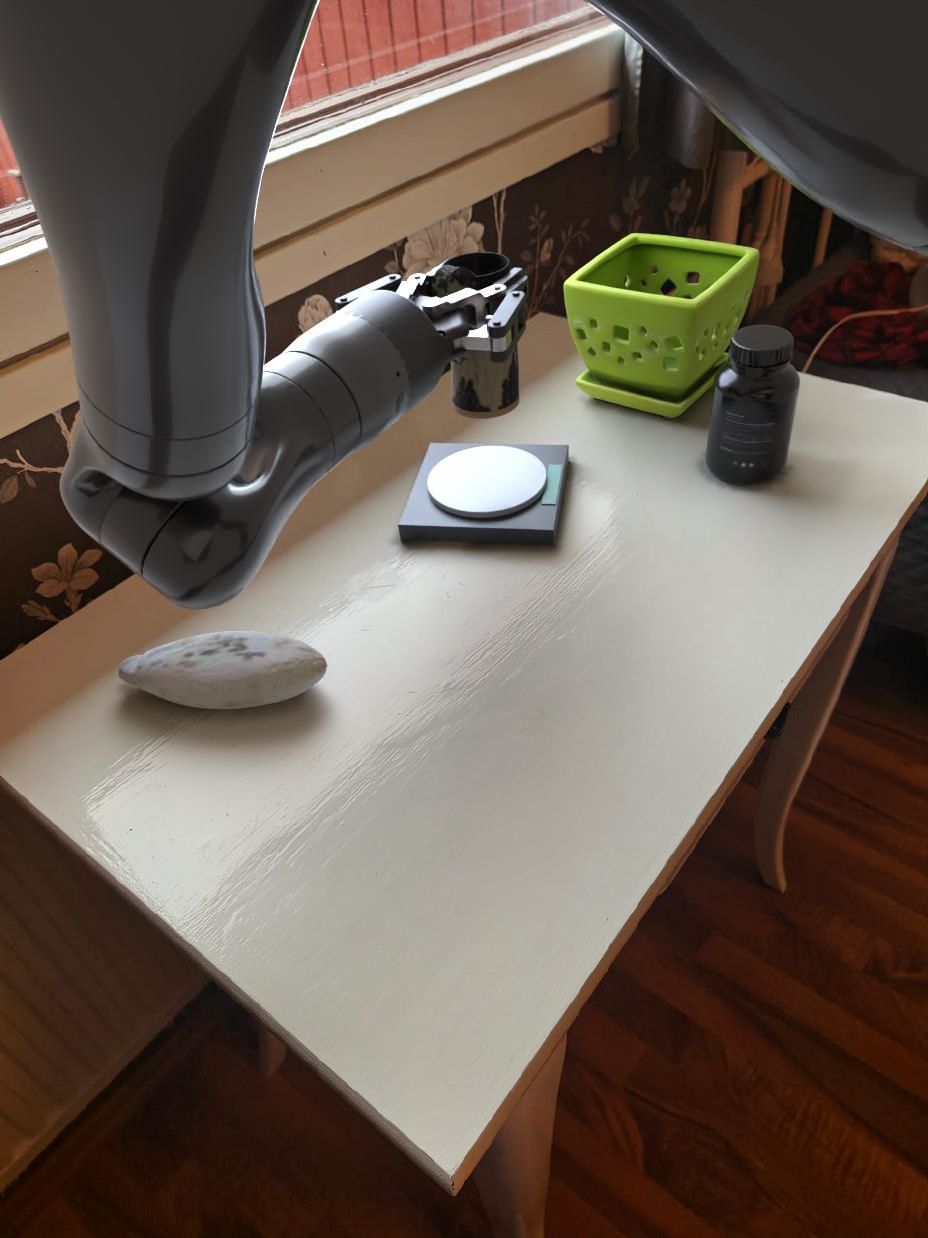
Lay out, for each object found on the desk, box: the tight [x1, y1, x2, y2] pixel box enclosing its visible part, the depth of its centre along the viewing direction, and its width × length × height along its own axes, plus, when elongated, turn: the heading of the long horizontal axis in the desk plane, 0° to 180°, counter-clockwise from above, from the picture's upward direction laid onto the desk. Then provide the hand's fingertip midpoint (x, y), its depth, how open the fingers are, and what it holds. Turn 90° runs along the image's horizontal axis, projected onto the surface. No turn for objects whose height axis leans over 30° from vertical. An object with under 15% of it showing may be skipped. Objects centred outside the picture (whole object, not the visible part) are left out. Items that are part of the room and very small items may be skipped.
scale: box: [397, 442, 570, 547], centre depth 76 cm, size 13×13×2 cm
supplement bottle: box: [705, 324, 801, 486], centre depth 72 cm, size 7×7×12 cm
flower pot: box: [563, 232, 761, 420], centre depth 84 cm, size 14×14×13 cm
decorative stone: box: [117, 630, 328, 710], centre depth 61 cm, size 6×16×3 cm, turn 86°
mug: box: [432, 251, 520, 420], centre depth 65 cm, size 8×6×12 cm
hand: (487, 277), depth 65 cm, fingers closed on mug, 5 cm apart
